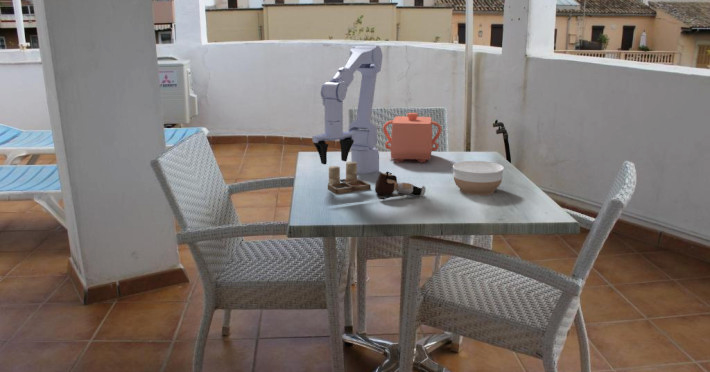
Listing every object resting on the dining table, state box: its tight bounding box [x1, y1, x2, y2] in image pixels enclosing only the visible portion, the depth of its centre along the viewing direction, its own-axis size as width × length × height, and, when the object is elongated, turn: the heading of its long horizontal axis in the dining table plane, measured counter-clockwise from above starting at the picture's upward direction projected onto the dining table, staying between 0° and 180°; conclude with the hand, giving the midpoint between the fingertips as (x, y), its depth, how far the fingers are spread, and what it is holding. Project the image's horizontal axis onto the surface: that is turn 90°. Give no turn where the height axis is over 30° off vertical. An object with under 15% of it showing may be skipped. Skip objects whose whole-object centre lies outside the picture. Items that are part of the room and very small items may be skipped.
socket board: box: [327, 179, 372, 195], centre depth 191 cm, size 12×6×2 cm, turn 116°
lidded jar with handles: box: [382, 112, 443, 163], centre depth 237 cm, size 25×23×18 cm
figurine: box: [374, 171, 426, 200], centre depth 184 cm, size 9×8×15 cm
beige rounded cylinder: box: [327, 165, 341, 185], centre depth 195 cm, size 4×4×6 cm
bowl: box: [452, 160, 505, 196], centre depth 191 cm, size 16×16×8 cm
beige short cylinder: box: [344, 161, 359, 182], centre depth 198 cm, size 4×4×6 cm
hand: (334, 162), depth 194 cm, fingers open, 7 cm apart
